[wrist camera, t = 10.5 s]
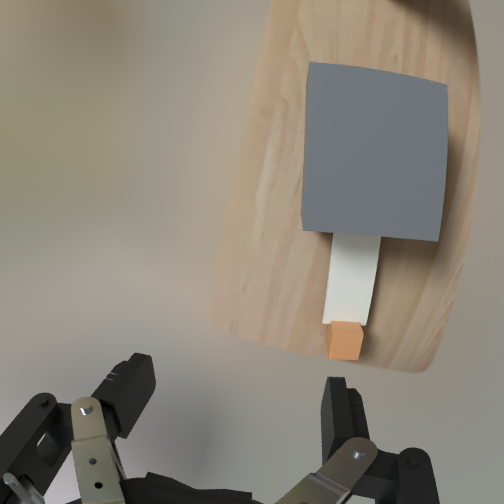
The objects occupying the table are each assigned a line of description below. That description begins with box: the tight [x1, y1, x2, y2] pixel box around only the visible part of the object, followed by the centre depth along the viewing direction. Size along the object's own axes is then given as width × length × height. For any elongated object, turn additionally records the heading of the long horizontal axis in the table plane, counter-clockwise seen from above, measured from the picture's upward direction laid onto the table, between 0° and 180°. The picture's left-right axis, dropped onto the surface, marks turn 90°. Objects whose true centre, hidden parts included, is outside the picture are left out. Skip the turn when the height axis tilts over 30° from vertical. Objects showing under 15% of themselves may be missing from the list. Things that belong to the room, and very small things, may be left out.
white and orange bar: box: [322, 233, 381, 360], centre depth 37 cm, size 20×6×5 cm, turn 178°
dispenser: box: [301, 62, 448, 242], centre depth 31 cm, size 17×14×10 cm
